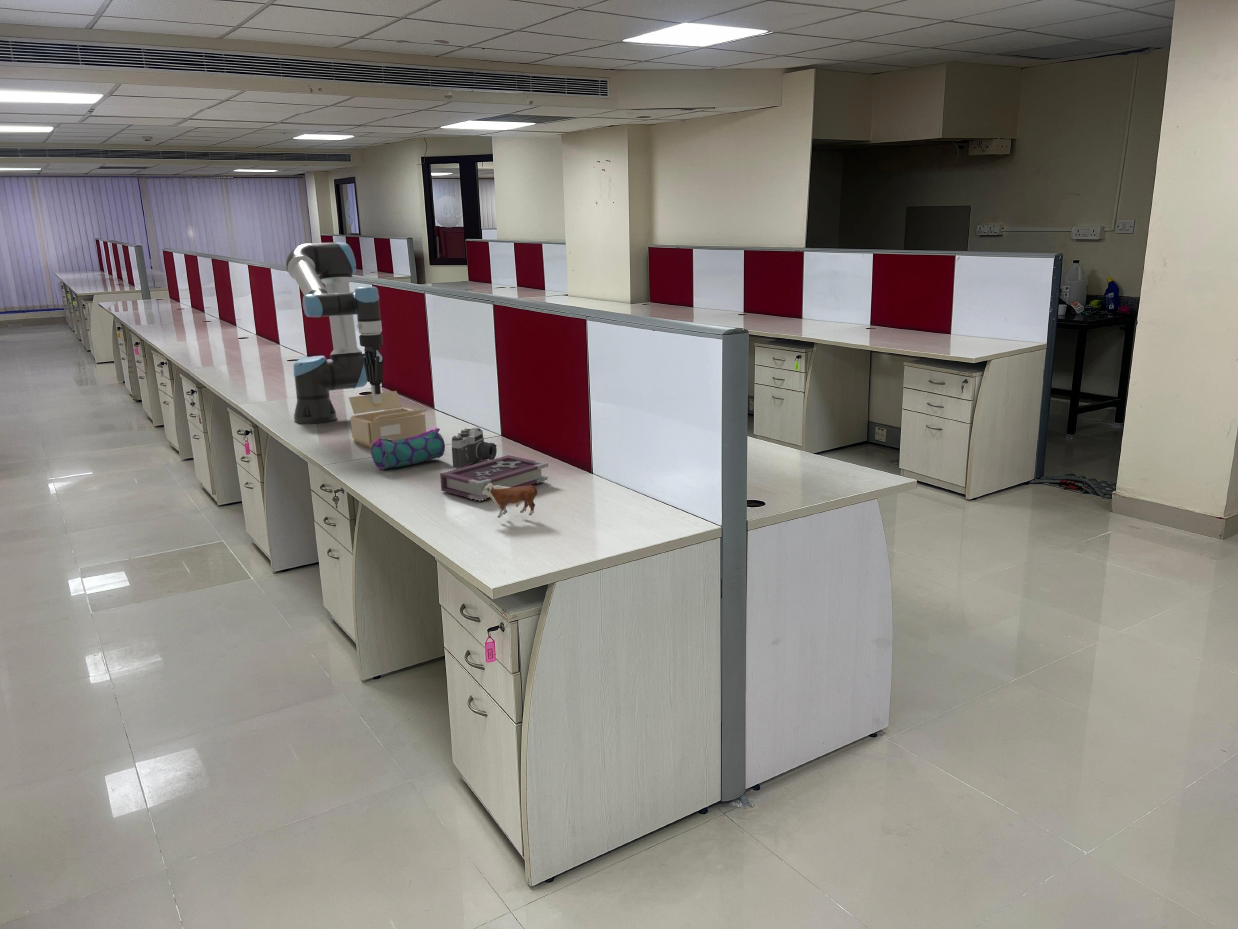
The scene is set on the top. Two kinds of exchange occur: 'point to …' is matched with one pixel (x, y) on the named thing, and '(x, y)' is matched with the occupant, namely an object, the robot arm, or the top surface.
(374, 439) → the carton
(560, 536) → the top surface
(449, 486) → the book
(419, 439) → the pencil case
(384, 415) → the flap
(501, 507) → the bull figurine
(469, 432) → the camera
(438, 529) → the top surface
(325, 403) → the robot arm
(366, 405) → the flap
